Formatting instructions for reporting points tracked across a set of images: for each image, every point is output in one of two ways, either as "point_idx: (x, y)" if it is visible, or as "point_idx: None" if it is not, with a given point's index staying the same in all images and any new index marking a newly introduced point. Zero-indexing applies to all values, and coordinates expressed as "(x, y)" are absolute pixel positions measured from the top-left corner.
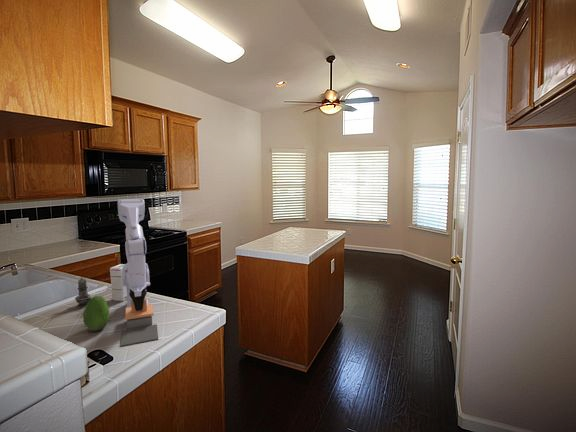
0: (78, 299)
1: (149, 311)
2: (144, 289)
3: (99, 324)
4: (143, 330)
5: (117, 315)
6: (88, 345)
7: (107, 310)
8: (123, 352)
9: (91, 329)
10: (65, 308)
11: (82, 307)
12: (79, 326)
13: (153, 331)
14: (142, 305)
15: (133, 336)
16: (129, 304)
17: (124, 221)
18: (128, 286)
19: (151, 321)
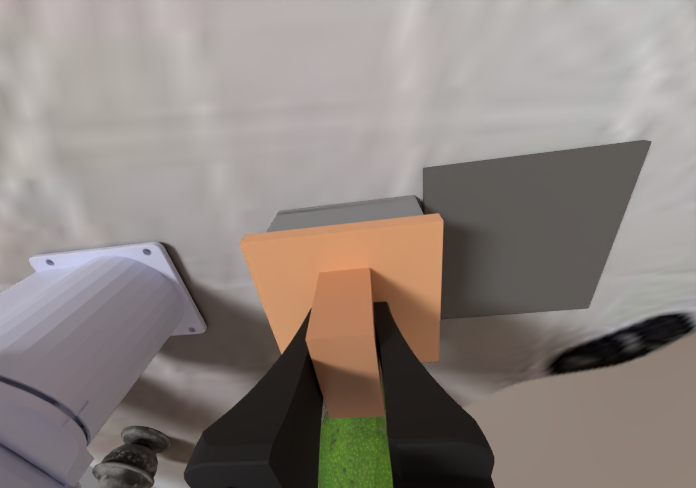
0: (151, 483)
1: (394, 250)
2: (283, 447)
3: None
4: (481, 235)
5: (247, 350)
6: (494, 388)
7: (382, 451)
8: (651, 288)
9: None
10: (177, 465)
11: (168, 440)
12: None
13: (527, 180)
14: (398, 328)
15: (528, 272)
16: (166, 340)
17: None
18: (75, 467)
19: (419, 208)
